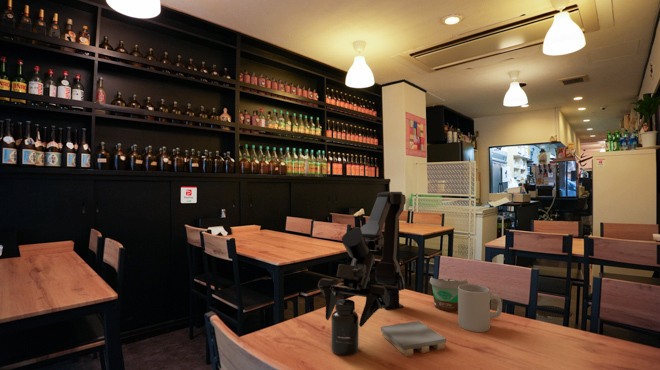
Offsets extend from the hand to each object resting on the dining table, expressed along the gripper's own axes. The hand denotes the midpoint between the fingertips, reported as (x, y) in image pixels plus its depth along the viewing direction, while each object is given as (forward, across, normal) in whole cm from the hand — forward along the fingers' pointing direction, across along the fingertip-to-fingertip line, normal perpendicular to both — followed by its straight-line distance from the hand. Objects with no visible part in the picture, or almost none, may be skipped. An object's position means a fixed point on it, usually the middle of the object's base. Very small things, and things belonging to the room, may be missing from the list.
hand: (343, 322), depth 83 cm
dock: (-4, +14, +14) cm, 20 cm away
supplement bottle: (+4, 0, +6) cm, 7 cm away
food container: (-24, +18, +34) cm, 46 cm away
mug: (-17, +29, +28) cm, 43 cm away
